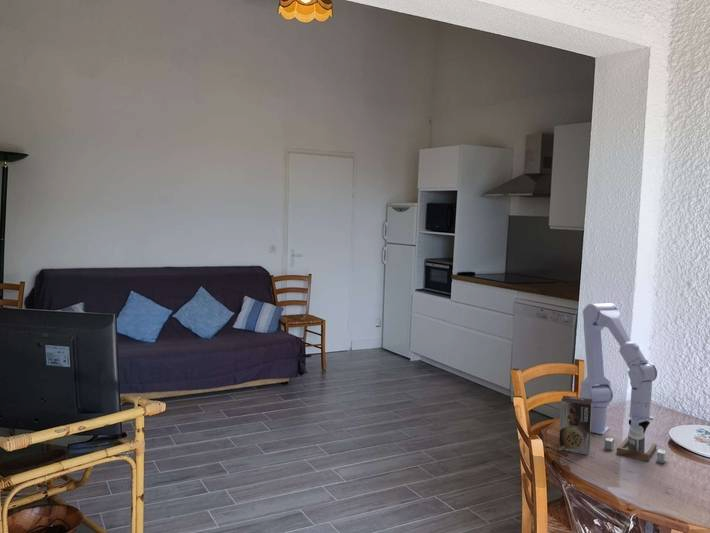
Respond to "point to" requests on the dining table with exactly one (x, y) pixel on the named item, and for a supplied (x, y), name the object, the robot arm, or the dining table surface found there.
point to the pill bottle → (636, 439)
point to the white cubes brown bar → (635, 454)
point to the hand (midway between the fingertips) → (637, 443)
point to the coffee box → (575, 424)
